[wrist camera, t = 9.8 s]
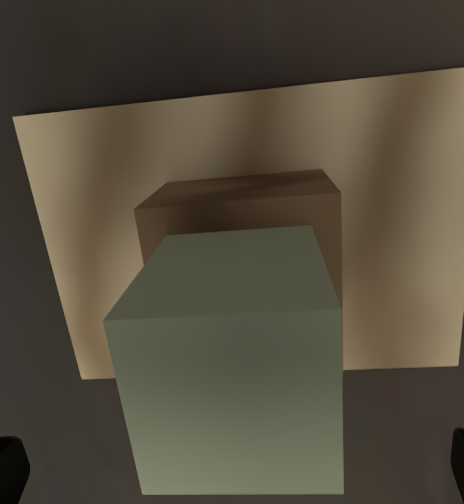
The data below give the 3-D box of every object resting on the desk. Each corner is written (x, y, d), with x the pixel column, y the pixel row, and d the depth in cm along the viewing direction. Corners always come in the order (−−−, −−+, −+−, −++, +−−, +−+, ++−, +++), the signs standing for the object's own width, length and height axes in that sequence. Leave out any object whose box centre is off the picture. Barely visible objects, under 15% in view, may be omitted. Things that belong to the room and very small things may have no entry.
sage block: (311, 224, 14) (341, 309, 8) (315, 352, 16) (343, 494, 10) (166, 235, 14) (102, 320, 9) (185, 357, 16) (142, 494, 11)
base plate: (475, 66, 17) (576, 49, 12) (450, 354, 22) (513, 442, 16) (24, 116, 19) (-75, 122, 14) (88, 368, 24) (34, 449, 18)
